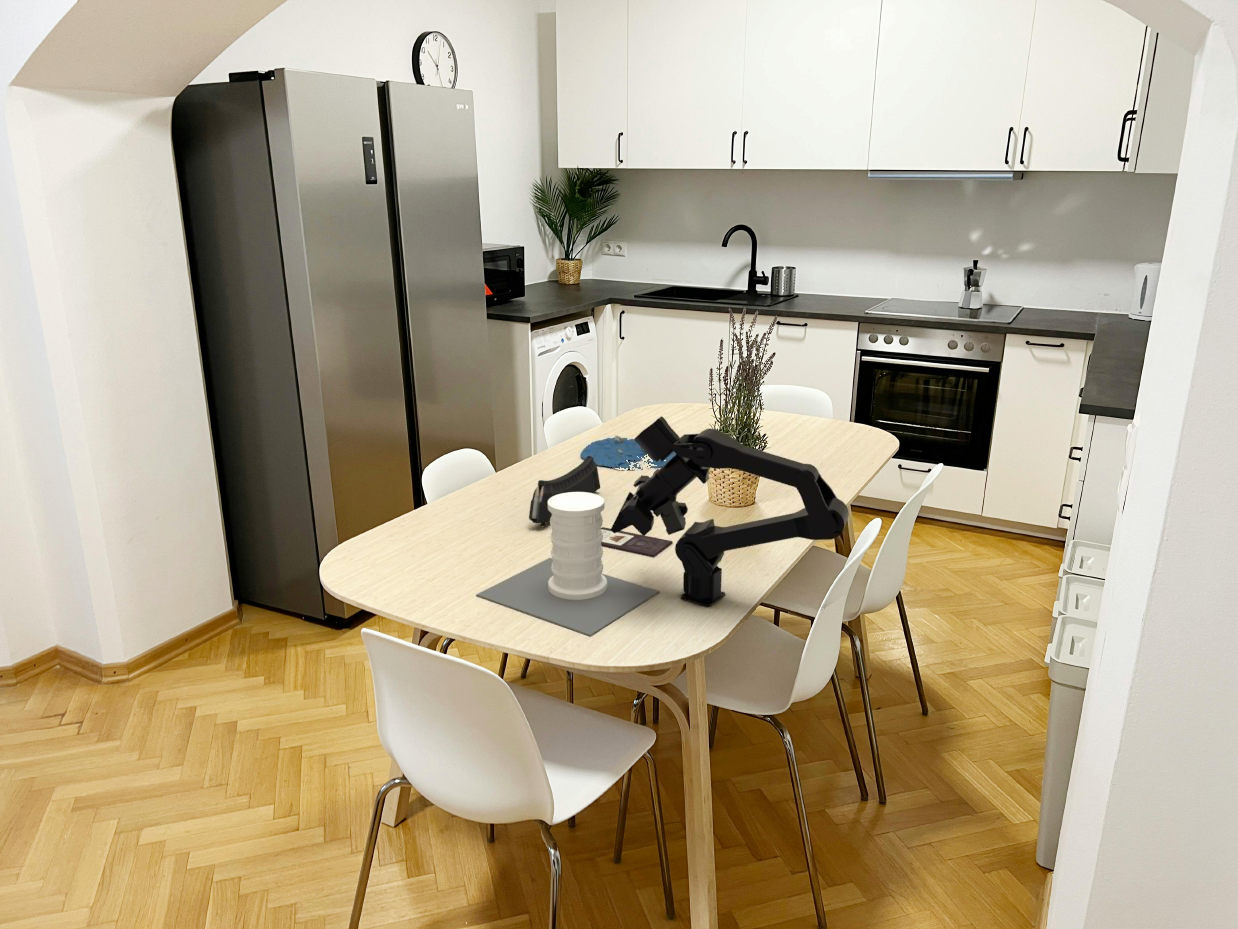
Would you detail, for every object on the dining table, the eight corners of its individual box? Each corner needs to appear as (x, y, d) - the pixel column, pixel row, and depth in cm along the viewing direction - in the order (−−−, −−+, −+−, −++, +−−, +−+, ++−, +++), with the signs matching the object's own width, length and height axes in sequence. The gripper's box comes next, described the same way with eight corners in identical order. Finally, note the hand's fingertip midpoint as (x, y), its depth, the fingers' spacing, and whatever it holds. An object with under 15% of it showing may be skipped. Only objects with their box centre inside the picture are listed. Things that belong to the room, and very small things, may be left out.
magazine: (593, 455, 232) (535, 452, 204) (604, 457, 230) (548, 453, 203) (585, 521, 232) (526, 526, 205) (596, 523, 231) (539, 528, 204)
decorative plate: (702, 465, 259) (703, 448, 257) (613, 481, 244) (613, 463, 242) (648, 438, 283) (649, 422, 281) (564, 450, 268) (564, 434, 266)
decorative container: (606, 574, 181) (605, 490, 176) (607, 599, 170) (606, 511, 165) (549, 575, 181) (547, 491, 176) (546, 600, 170) (544, 512, 165)
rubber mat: (659, 592, 174) (659, 590, 174) (590, 636, 157) (590, 635, 157) (549, 559, 190) (549, 557, 190) (476, 595, 173) (475, 594, 173)
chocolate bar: (653, 555, 190) (582, 540, 199) (653, 559, 191) (582, 544, 199) (672, 541, 198) (602, 527, 206) (672, 545, 198) (602, 530, 207)
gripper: (696, 528, 159) (634, 580, 164) (704, 493, 177) (648, 542, 182) (652, 483, 158) (592, 537, 163) (665, 453, 175) (609, 503, 180)
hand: (612, 531), depth 172 cm, fingers closed
